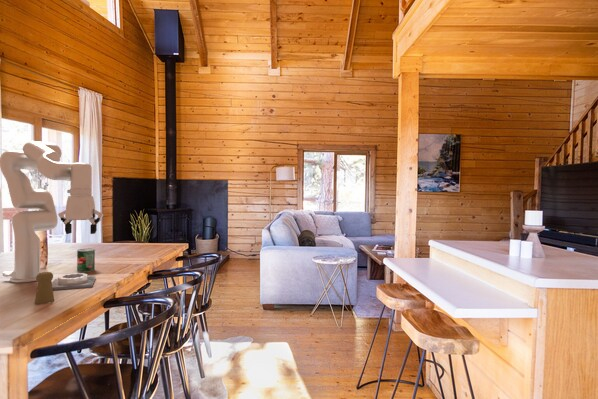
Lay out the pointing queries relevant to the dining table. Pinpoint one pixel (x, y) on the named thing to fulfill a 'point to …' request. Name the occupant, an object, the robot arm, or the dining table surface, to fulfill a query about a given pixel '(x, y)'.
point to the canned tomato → (85, 260)
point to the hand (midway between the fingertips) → (80, 233)
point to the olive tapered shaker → (44, 288)
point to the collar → (73, 281)
